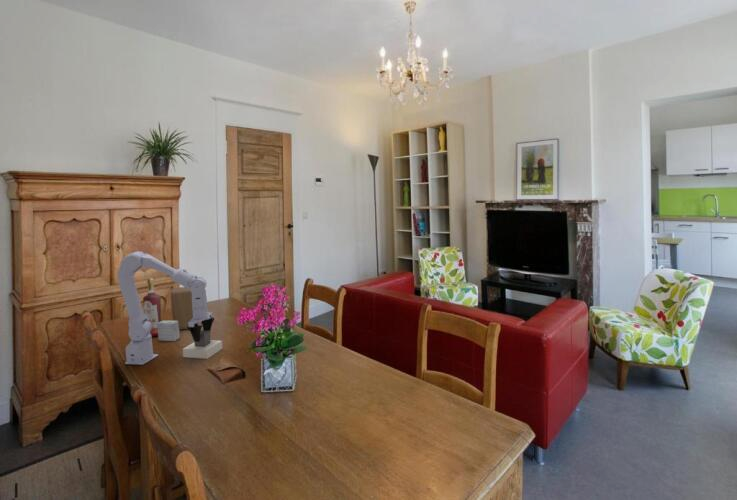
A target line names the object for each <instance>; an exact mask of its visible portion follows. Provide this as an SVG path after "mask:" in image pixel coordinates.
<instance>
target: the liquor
mask: <svg viewBox="0 0 737 500" xmlns="http://www.w3.org/2000/svg"><path fill="white" fill-rule="evenodd" d="M146 284H147V294H146V295H145V296H144V297H142V300H143V301H142V302H143V308H144V309H143V310H144V314H145V315H146V316H147V318H148V320H149V321H150V322H151V323H152V329H151V331H150V334H151V337H152V338H153V337H155V338H156V337H158V328H157V323H159V322H161V321H162V304H161V303H162V301H161V295H160V294H157V293H156V292H155V286H154V277H147V278H146Z"/></svg>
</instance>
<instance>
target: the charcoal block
mask: <svg viewBox="0 0 737 500" xmlns="http://www.w3.org/2000/svg"><path fill="white" fill-rule="evenodd" d="M210 340H211V331H210V330H203V329H201V332H200V341H199V342H193V343H195V346H197V347H205V346H207V345H208V344H210V343H211V342H210Z"/></svg>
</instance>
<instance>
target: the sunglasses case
mask: <svg viewBox="0 0 737 500" xmlns="http://www.w3.org/2000/svg"><path fill="white" fill-rule="evenodd" d="M205 370H206V371H207V370H208V372H209V373H211V374H212V375H213V374H214V375H213V376H215V377H216V378H217V379H218V380H219V381H220V382H221V384H223V385H225V384H228V383H231V382H234V381H238V380H241V379H243V378H246V376H247V375H246V372H245V370H244V369H242V368H241V367H240V366H238V365H237V364H235V363H234V362H233V361H232V360H230V359H228V358H227V357H225V356H224V355H222V356H221V358H220V359H218V360H216V361H215V362H214V363H212V364H211V365H210V366H209V367H208V368H205Z"/></svg>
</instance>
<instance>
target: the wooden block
mask: <svg viewBox="0 0 737 500" xmlns="http://www.w3.org/2000/svg"><path fill="white" fill-rule="evenodd" d="M170 302H171V313H172V321H178V325H179V331H181V330H182V329H183V330H188V329H187V326H188V322H190V321H191V319H192V318H193V309H192V292H191V291H190V289H189V288H186V287H184V286H182V287H173V288H171V290H170Z"/></svg>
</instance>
